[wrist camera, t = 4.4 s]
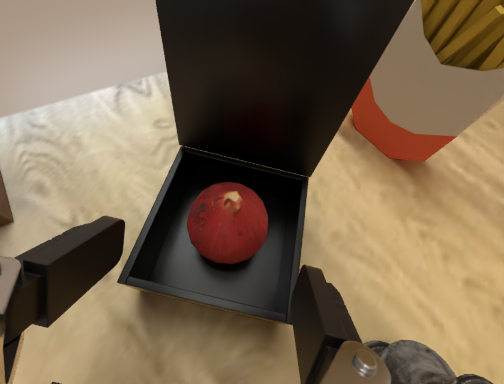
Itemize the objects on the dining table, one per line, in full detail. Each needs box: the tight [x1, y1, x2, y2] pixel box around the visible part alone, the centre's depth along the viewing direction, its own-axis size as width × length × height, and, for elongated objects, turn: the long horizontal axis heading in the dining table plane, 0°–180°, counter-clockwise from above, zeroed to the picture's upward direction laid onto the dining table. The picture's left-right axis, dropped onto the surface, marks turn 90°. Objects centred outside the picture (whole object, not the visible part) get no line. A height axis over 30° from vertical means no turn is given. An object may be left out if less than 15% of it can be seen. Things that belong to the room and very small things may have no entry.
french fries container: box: [351, 0, 504, 161], centre depth 21 cm, size 5×11×18 cm, turn 37°
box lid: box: [156, 0, 414, 177], centre depth 14 cm, size 12×11×1 cm
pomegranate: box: [187, 182, 268, 264], centre depth 17 cm, size 6×6×8 cm
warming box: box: [117, 146, 309, 325], centre depth 19 cm, size 11×11×4 cm
